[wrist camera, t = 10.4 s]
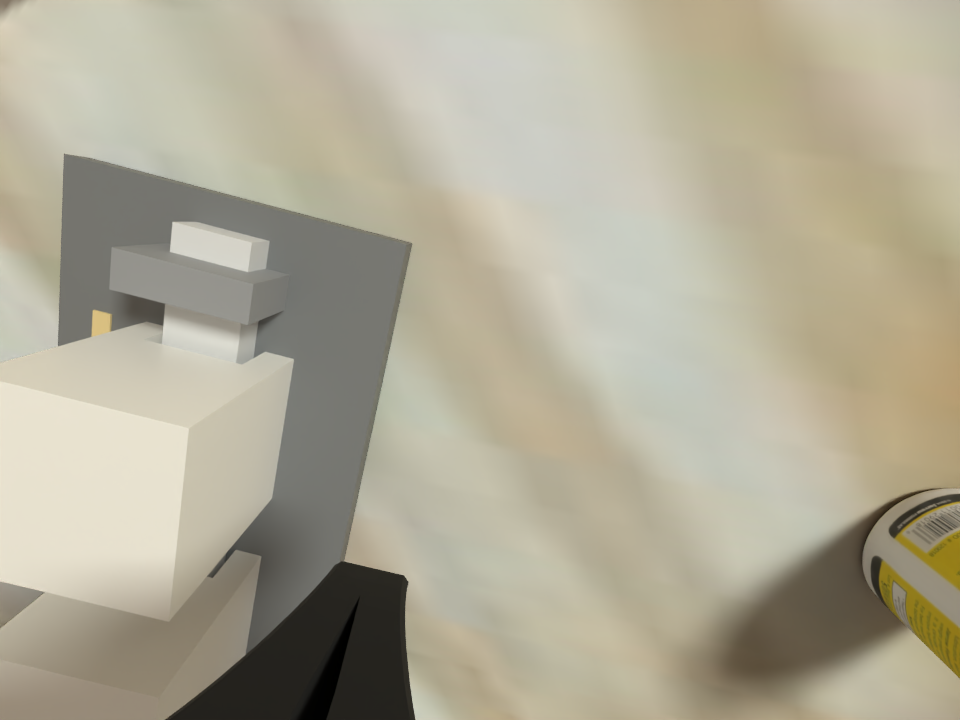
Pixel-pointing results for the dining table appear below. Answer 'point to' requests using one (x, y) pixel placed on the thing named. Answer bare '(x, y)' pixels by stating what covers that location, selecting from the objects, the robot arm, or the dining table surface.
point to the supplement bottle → (920, 568)
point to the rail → (236, 338)
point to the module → (133, 466)
